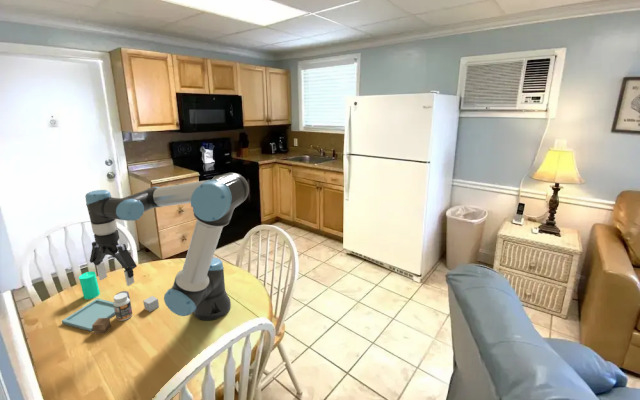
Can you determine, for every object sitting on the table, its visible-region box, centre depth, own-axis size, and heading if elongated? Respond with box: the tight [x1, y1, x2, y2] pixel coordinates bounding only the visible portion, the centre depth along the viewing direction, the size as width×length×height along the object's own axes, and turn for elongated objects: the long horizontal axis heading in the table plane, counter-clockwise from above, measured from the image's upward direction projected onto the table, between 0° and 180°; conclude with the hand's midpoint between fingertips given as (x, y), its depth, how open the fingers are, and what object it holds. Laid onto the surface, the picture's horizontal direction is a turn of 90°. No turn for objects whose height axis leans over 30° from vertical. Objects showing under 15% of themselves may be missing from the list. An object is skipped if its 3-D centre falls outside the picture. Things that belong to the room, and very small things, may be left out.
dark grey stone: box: [115, 290, 131, 300], centre depth 137 cm, size 5×5×3 cm
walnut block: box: [92, 318, 112, 335], centre depth 119 cm, size 4×4×4 cm
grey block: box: [143, 295, 160, 313], centre depth 132 cm, size 4×4×4 cm
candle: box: [78, 271, 101, 300], centre depth 138 cm, size 6×6×12 cm
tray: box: [61, 297, 116, 332], centre depth 127 cm, size 15×15×2 cm
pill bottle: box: [113, 292, 133, 322], centre depth 125 cm, size 6×6×10 cm
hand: (116, 281), depth 122 cm, fingers open, 13 cm apart
